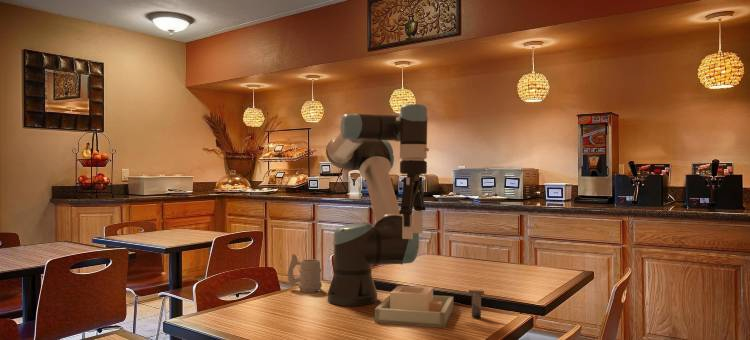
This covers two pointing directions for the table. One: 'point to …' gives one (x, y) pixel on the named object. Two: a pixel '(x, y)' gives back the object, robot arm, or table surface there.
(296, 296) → the table surface
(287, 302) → the table surface
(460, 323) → the table surface
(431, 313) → the tray
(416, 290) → the beige recessed block
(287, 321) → the table surface
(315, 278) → the mug
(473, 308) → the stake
